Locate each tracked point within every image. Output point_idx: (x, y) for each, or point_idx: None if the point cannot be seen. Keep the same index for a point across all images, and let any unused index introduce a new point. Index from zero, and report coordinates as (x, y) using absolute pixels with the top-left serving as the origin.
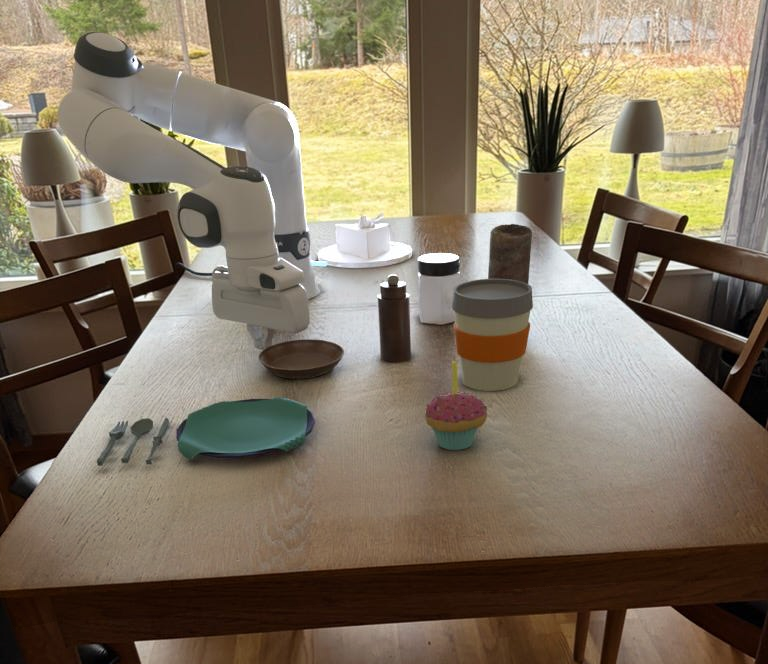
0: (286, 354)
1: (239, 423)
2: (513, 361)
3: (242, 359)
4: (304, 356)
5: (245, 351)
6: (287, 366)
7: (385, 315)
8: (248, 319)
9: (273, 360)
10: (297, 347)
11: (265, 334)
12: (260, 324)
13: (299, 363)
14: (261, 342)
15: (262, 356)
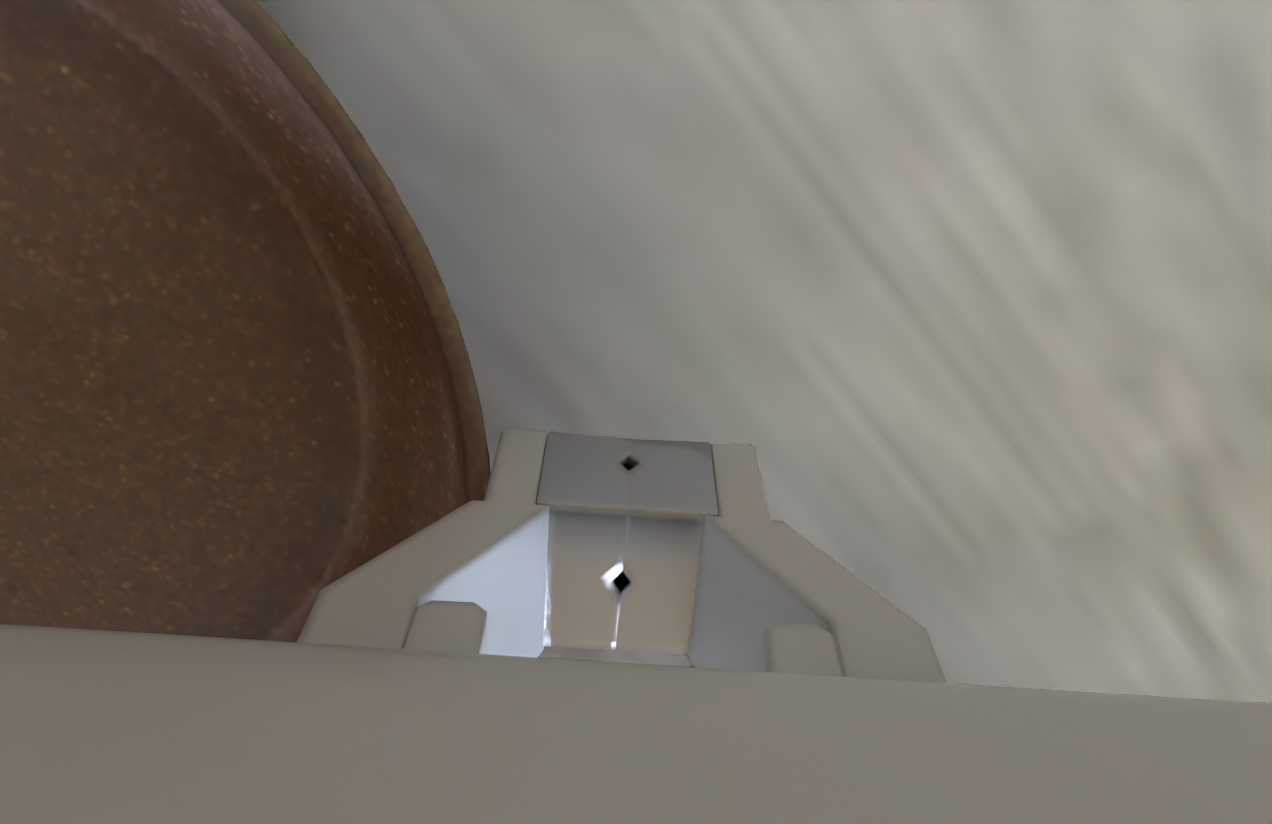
0: (363, 560)
1: None
2: None
3: (948, 305)
4: (168, 617)
5: (1073, 543)
6: (61, 263)
7: None
8: (800, 758)
9: (362, 330)
10: None
11: (404, 580)
12: (356, 676)
13: (19, 416)
14: (574, 491)
15: (367, 190)
